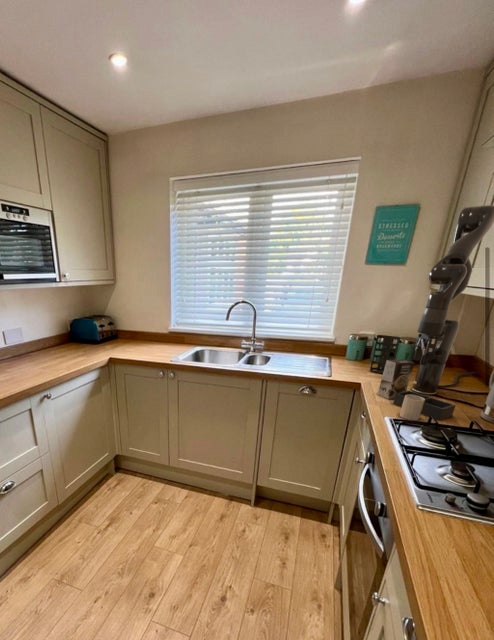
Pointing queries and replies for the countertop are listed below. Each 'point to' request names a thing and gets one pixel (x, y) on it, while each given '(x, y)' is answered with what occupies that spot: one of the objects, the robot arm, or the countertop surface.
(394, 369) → the coffee box
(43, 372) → the countertop surface
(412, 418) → the cup
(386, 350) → the holder
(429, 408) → the cup holder
